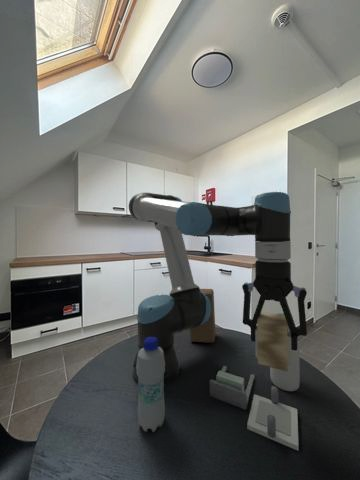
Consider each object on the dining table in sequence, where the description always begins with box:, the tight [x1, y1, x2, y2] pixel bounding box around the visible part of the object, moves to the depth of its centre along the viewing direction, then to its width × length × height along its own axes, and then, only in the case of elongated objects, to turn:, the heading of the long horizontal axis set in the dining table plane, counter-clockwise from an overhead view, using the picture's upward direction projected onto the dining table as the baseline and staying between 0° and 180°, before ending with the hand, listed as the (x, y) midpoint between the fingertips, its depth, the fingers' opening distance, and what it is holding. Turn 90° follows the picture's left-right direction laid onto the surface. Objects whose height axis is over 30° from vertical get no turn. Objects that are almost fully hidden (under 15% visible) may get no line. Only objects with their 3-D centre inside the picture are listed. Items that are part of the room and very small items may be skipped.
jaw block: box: [257, 311, 288, 372], centre depth 47 cm, size 6×6×10 cm
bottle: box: [136, 337, 166, 433], centre depth 47 cm, size 7×7×20 cm
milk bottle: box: [269, 312, 301, 392], centre depth 60 cm, size 8×8×20 cm
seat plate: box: [246, 385, 299, 452], centre depth 48 cm, size 10×11×4 cm
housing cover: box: [215, 370, 245, 391], centre depth 56 cm, size 7×3×5 cm, turn 61°
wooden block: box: [189, 288, 216, 344], centre depth 87 cm, size 10×10×20 cm
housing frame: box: [209, 365, 255, 411], centre depth 59 cm, size 10×13×4 cm
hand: (273, 358), depth 47 cm, fingers closed on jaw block, 6 cm apart
